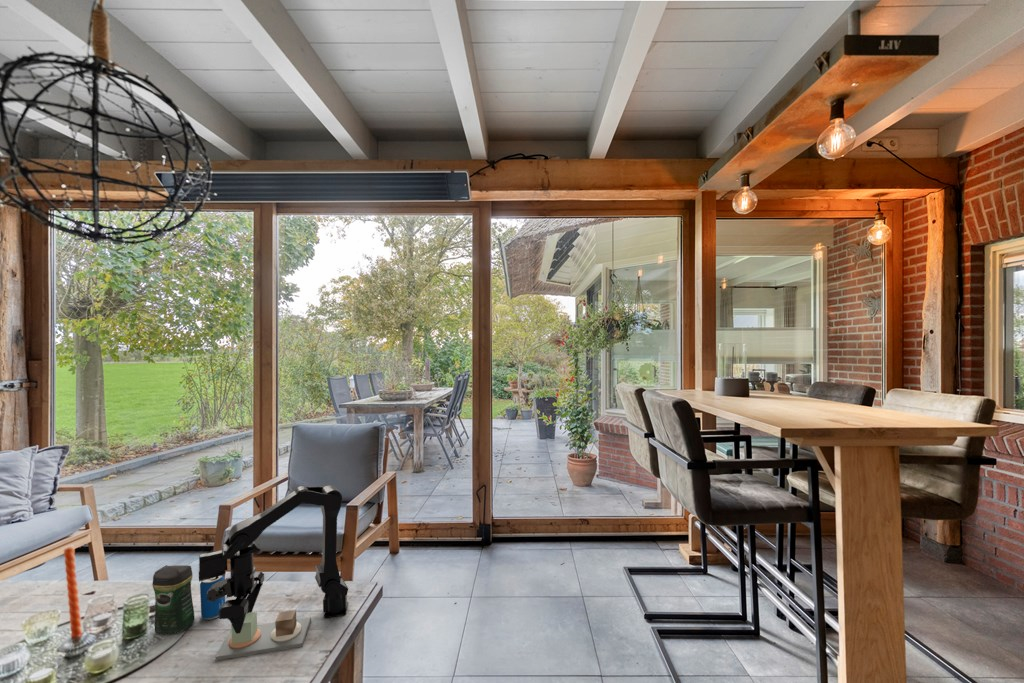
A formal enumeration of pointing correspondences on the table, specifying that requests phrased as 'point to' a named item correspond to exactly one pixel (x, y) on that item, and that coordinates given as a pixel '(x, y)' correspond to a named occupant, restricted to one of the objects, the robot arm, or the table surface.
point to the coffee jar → (173, 599)
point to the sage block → (246, 629)
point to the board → (265, 641)
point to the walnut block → (285, 623)
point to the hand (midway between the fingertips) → (244, 622)
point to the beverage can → (207, 607)
